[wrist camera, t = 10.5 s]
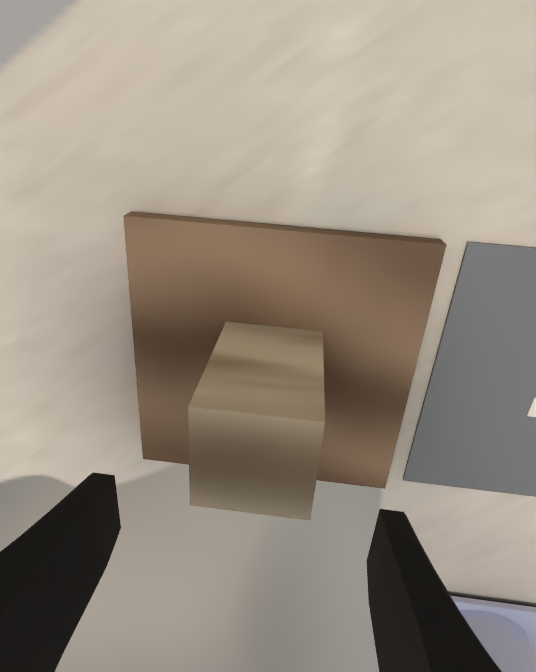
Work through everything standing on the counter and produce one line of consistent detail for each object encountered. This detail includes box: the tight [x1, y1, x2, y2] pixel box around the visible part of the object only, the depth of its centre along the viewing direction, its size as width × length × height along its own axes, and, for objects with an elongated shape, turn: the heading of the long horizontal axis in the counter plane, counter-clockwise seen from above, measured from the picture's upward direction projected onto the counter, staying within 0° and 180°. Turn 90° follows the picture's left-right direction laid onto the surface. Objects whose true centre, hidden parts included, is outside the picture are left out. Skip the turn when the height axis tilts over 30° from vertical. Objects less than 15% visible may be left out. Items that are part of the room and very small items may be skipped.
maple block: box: [188, 322, 325, 520], centre depth 16 cm, size 4×4×6 cm
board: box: [124, 212, 446, 488], centre depth 19 cm, size 12×12×1 cm
